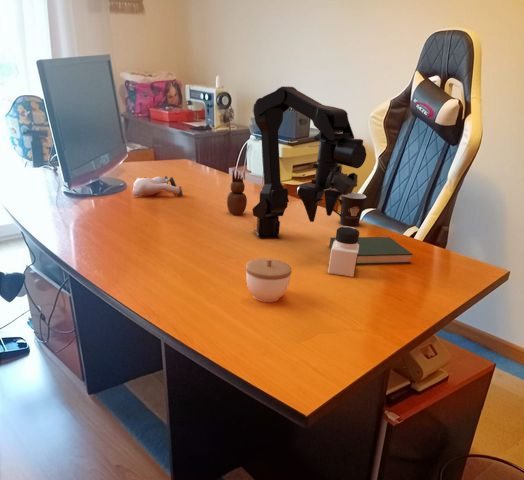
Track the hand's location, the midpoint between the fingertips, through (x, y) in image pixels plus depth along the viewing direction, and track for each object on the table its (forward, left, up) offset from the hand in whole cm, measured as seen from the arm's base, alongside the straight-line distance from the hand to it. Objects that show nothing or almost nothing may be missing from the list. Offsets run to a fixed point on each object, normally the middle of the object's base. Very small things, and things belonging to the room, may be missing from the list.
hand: (320, 218), depth 146 cm
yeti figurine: (-42, +70, -12) cm, 82 cm away
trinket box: (-22, -25, -12) cm, 35 cm away
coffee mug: (+22, +32, -12) cm, 40 cm away
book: (+17, +1, -11) cm, 21 cm away
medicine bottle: (+4, -11, -12) cm, 16 cm away
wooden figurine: (-15, +43, -12) cm, 46 cm away
